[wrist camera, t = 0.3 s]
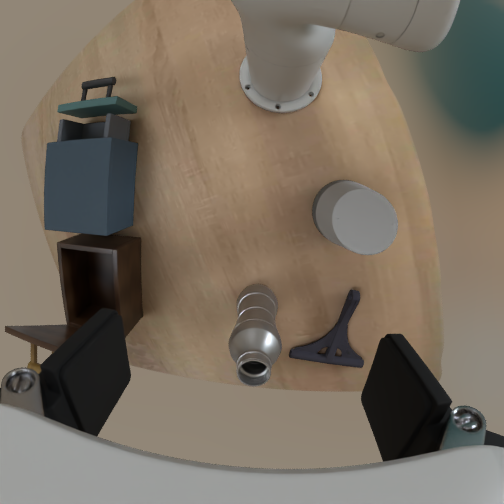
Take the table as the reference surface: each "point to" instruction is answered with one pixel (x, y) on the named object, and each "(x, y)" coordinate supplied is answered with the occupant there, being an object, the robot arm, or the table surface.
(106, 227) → the cabinet
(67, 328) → the lid
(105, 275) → the chest
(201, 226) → the table surface
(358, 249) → the smart speaker
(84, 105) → the drawer
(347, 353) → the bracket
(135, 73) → the table surface
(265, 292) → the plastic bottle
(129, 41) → the table surface
